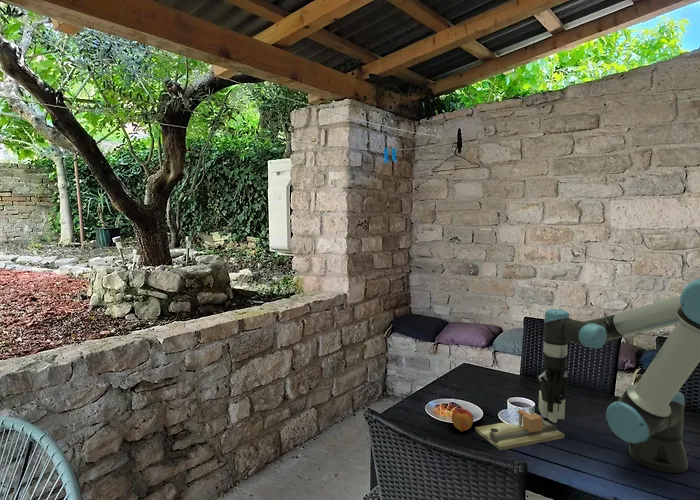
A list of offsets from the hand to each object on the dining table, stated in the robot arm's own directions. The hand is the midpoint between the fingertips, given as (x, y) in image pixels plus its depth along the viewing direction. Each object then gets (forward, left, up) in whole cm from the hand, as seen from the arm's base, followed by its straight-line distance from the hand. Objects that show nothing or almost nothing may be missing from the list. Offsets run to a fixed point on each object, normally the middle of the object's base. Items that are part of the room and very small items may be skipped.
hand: (552, 420), depth 156 cm
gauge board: (+3, +11, -5) cm, 13 cm away
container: (+12, -11, -5) cm, 17 cm away
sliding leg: (+2, +8, -3) cm, 9 cm away
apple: (+12, +28, -5) cm, 31 cm away
